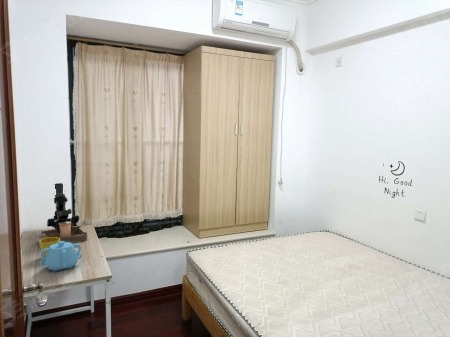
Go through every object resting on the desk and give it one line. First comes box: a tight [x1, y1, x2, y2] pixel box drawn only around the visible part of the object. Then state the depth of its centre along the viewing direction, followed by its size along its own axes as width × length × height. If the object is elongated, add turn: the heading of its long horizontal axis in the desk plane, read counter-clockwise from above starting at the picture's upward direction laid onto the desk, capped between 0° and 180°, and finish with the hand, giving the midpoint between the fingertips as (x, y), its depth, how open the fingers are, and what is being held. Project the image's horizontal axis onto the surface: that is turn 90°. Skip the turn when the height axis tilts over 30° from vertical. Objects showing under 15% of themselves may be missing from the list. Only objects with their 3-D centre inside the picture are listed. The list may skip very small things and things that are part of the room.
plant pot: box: [38, 237, 60, 258], centre depth 177 cm, size 10×10×10 cm
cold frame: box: [40, 225, 88, 243], centre depth 205 cm, size 16×24×6 cm
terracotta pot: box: [59, 221, 71, 238], centre depth 203 cm, size 7×7×13 cm
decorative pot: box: [39, 241, 83, 272], centre depth 163 cm, size 16×16×14 cm
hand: (65, 231), depth 201 cm, fingers closed on terracotta pot, 7 cm apart
